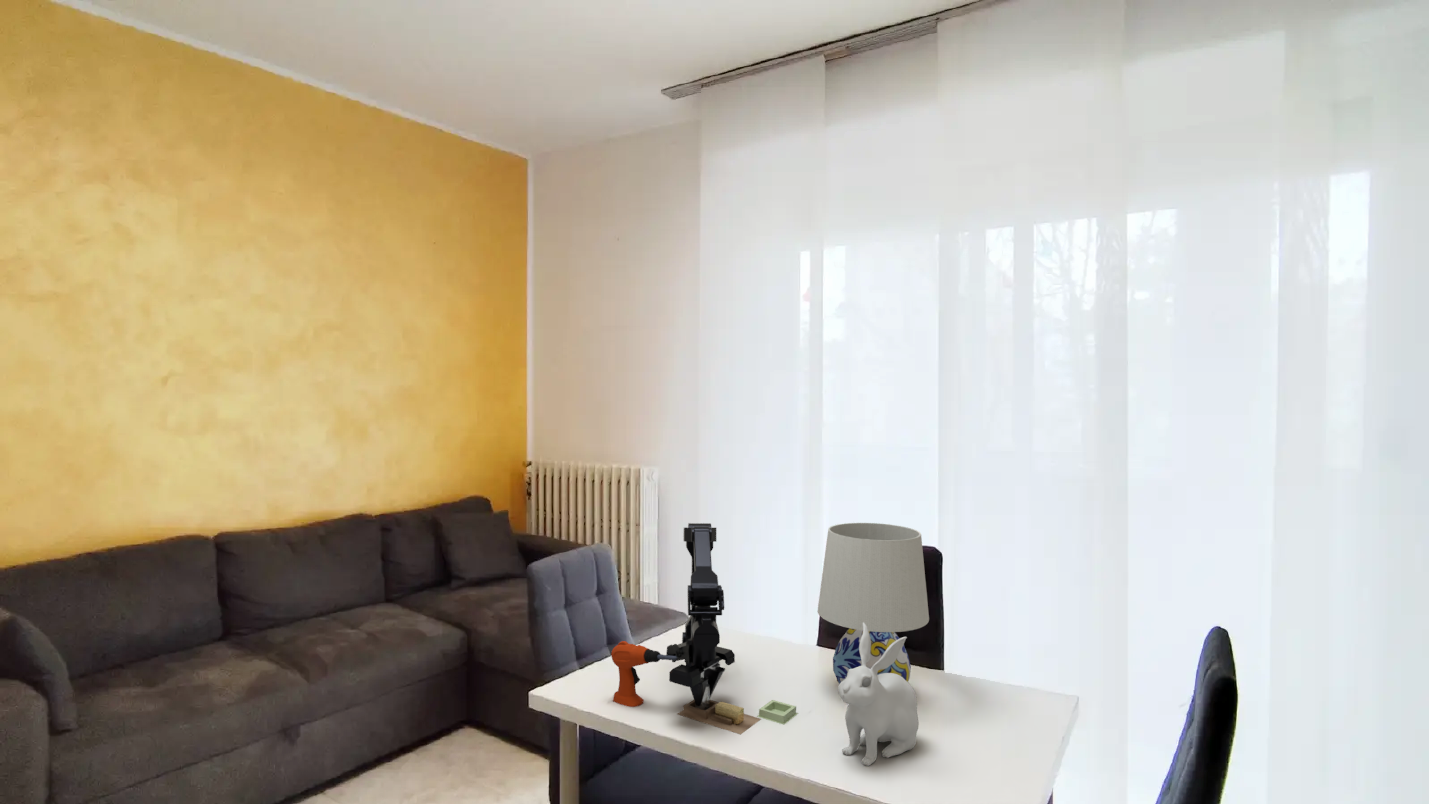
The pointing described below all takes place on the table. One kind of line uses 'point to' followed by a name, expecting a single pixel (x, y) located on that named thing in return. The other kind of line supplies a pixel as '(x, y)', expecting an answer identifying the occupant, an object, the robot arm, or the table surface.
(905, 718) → the rabbit
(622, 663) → the toy drill
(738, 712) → the yellow rectangular block
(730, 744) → the table surface
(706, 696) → the chrome stepped cylinder
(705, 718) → the socket block
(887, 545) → the table lamp
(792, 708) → the tray
